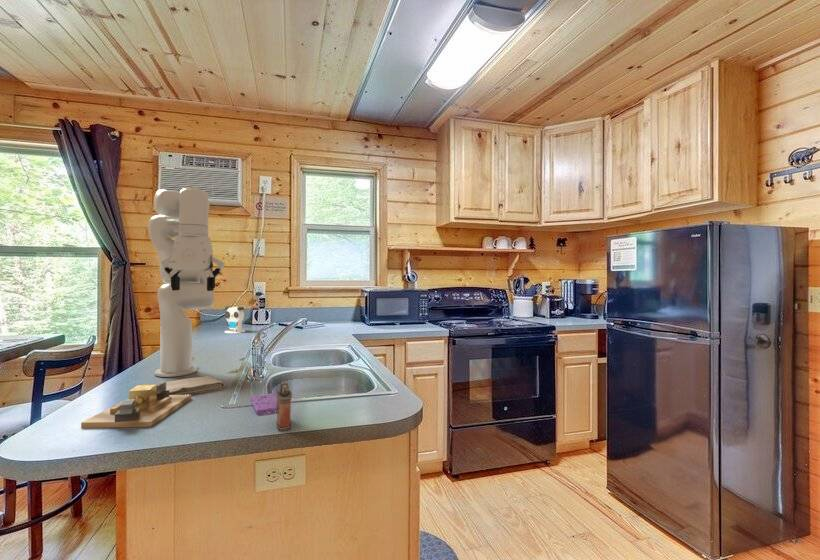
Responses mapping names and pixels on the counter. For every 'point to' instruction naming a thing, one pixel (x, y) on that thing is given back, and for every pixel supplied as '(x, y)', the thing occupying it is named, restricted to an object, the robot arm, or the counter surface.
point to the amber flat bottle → (283, 408)
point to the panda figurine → (234, 319)
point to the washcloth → (193, 385)
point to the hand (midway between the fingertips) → (193, 290)
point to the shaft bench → (141, 421)
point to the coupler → (144, 396)
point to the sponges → (264, 403)
